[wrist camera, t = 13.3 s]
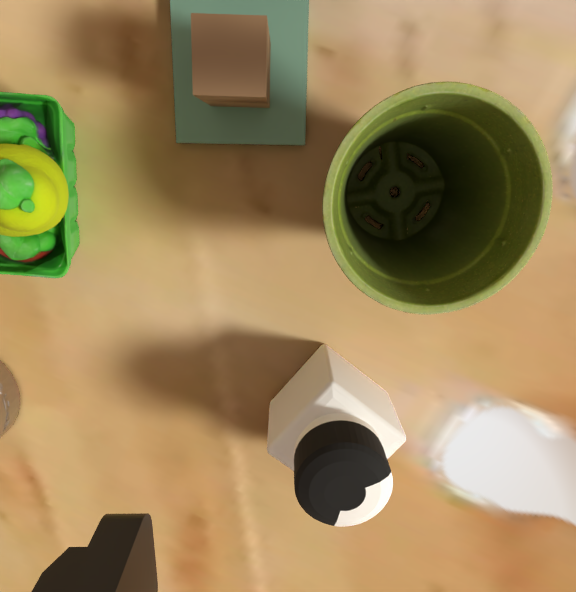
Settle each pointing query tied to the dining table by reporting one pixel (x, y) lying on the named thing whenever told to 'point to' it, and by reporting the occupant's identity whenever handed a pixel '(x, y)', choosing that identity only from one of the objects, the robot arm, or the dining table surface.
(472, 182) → the plant pot
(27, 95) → the fruit basket
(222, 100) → the walnut box
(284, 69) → the coaster
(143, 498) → the dining table surface
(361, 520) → the medicine bottle
